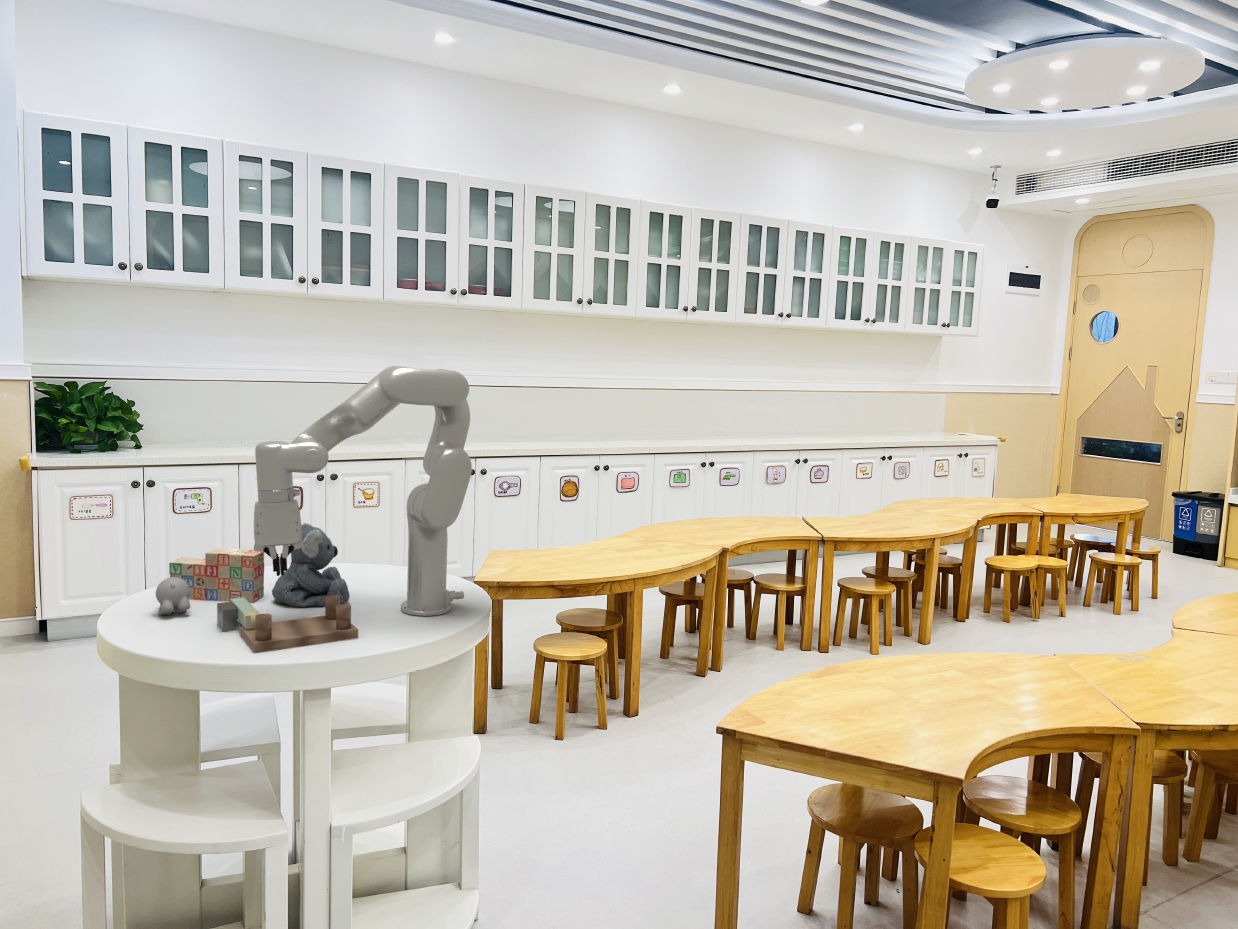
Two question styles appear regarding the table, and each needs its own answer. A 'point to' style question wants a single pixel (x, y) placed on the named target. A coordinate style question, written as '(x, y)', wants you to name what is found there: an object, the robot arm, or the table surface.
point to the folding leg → (245, 612)
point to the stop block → (226, 616)
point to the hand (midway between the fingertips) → (280, 574)
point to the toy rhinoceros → (173, 596)
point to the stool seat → (301, 629)
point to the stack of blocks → (222, 574)
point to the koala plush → (311, 573)
